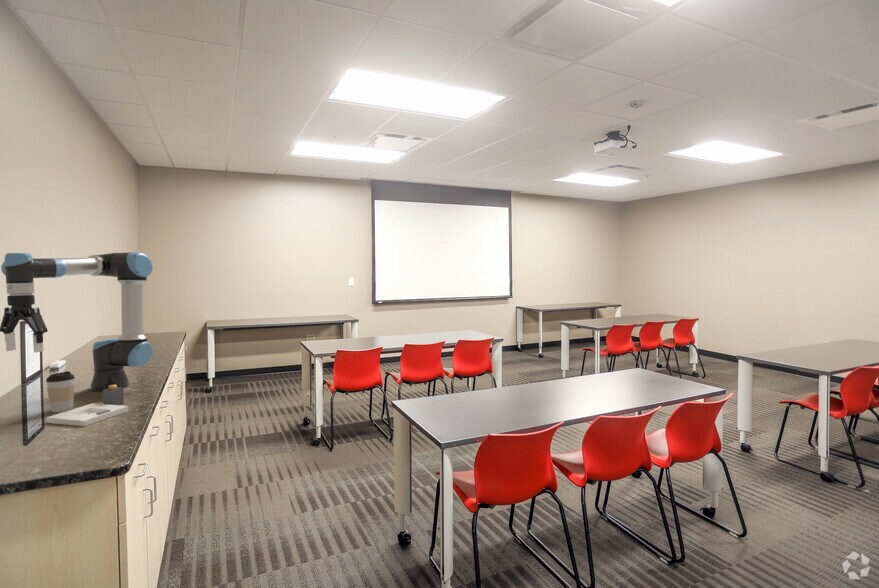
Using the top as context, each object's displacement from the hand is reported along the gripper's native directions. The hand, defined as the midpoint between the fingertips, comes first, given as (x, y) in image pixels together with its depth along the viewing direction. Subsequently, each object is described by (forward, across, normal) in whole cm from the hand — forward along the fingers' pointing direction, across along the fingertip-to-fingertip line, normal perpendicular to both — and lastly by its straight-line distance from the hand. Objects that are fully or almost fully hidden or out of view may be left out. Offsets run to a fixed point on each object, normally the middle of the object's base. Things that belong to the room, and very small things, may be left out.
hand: (24, 351), depth 172 cm
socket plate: (+26, +18, +8) cm, 33 cm away
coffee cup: (+27, -2, +13) cm, 30 cm away
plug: (+27, +14, +22) cm, 38 cm away
